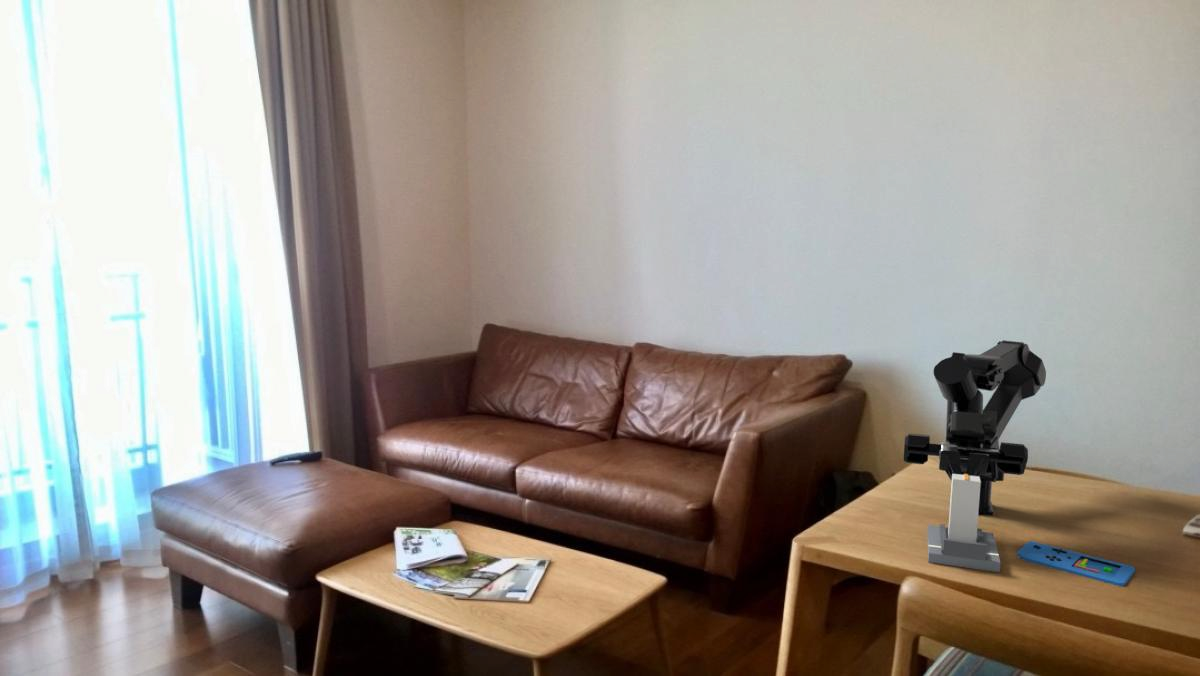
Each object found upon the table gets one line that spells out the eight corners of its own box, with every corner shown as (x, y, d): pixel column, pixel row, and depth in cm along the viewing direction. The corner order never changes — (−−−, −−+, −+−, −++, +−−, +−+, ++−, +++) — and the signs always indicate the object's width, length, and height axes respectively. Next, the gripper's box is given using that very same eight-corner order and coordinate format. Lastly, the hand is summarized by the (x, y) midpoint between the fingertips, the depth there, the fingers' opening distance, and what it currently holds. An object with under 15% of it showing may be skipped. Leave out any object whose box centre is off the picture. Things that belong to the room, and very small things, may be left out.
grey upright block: (947, 532, 136) (952, 472, 134) (974, 536, 134) (979, 475, 133) (948, 539, 133) (953, 477, 131) (976, 543, 131) (980, 480, 130)
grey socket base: (927, 533, 140) (928, 510, 140) (992, 541, 137) (994, 518, 136) (928, 562, 128) (929, 538, 128) (999, 572, 125) (1001, 547, 124)
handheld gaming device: (1029, 538, 136) (1136, 565, 126) (1029, 545, 136) (1135, 572, 126) (1013, 553, 130) (1123, 582, 120) (1012, 559, 131) (1123, 589, 120)
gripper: (908, 386, 140) (902, 467, 132) (1031, 396, 134) (1034, 482, 125) (906, 422, 149) (900, 500, 140) (1022, 433, 142) (1024, 515, 133)
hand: (962, 498), depth 134 cm, fingers closed, pressing on grey upright block
